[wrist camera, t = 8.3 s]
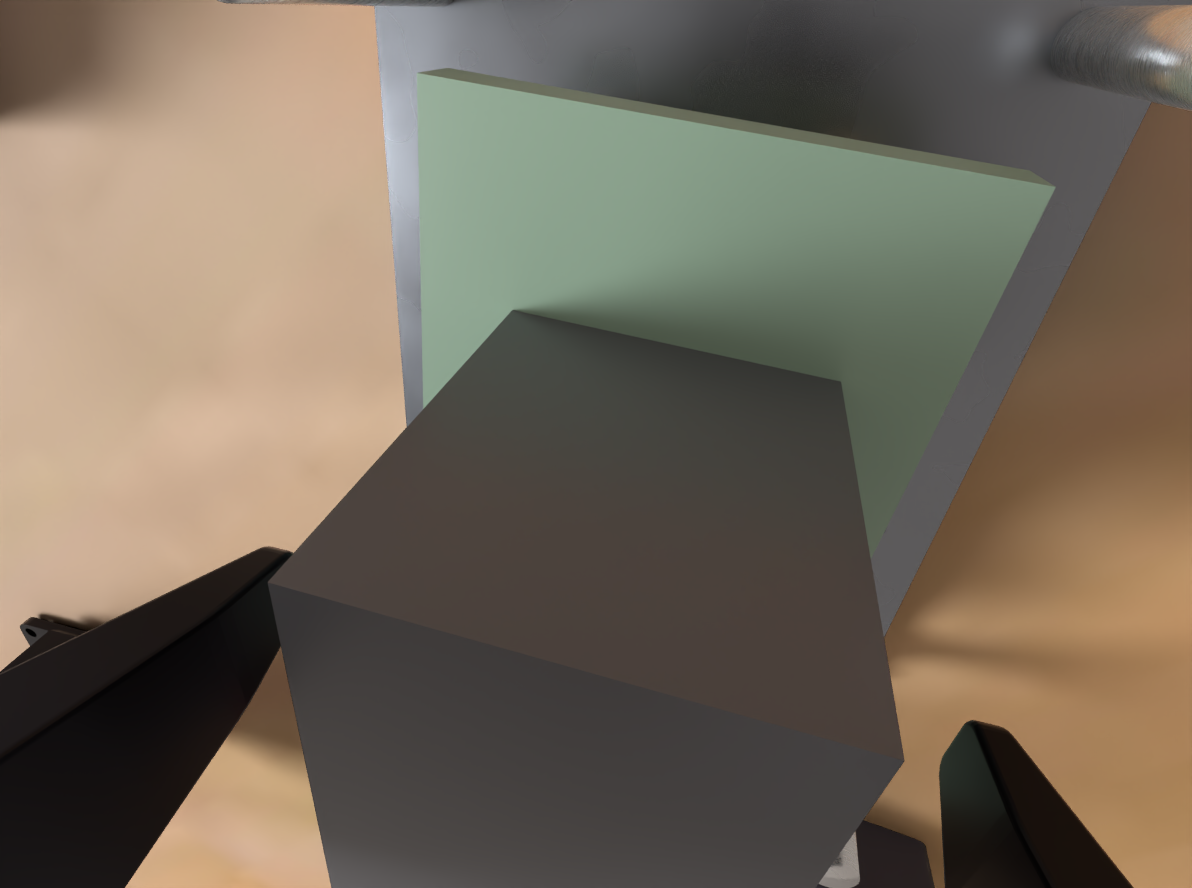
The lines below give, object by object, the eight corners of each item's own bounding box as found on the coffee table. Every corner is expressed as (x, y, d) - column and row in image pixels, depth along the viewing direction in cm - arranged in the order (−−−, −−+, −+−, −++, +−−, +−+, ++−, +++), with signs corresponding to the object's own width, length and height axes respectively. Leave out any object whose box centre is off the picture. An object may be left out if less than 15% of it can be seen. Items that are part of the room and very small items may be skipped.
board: (773, 716, 15) (769, 1135, 10) (445, 625, 16) (264, 957, 11) (1029, 170, 9) (1520, 478, 3) (447, 67, 10) (-47, 148, 4)
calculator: (806, 1052, 27) (448, 939, 27) (798, 929, 30) (481, 830, 30) (956, 956, 20) (487, 810, 21) (925, 815, 24) (524, 690, 24)
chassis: (848, 672, 20) (874, 918, 14) (433, 572, 21) (318, 757, 16) (1188, -39, 10) (1638, -96, 5) (392, -114, 12) (81, -216, 7)
